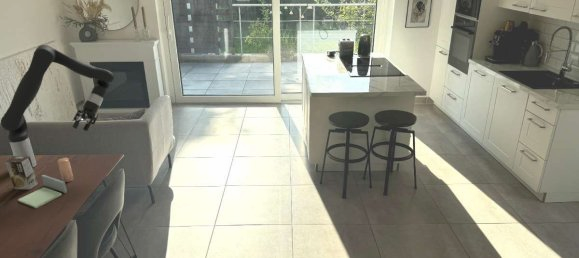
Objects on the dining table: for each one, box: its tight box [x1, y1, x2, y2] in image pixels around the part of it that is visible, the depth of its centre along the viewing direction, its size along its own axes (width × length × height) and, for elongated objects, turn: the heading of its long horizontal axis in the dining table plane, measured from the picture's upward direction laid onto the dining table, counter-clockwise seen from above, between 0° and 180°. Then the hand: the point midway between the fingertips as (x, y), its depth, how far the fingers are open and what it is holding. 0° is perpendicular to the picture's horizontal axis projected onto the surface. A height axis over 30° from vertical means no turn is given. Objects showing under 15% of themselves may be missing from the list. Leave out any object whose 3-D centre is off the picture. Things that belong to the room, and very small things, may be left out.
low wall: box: [41, 174, 68, 194], centre depth 201 cm, size 17×1×6 cm, turn 63°
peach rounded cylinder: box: [57, 157, 74, 183], centre depth 208 cm, size 5×5×12 cm
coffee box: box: [4, 155, 39, 190], centre depth 201 cm, size 9×6×16 cm
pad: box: [17, 186, 62, 209], centre depth 193 cm, size 14×13×1 cm
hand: (79, 129), depth 212 cm, fingers open, 8 cm apart
